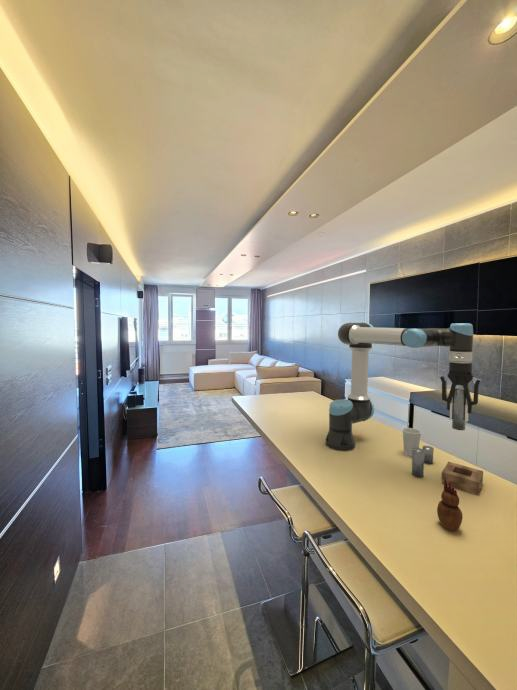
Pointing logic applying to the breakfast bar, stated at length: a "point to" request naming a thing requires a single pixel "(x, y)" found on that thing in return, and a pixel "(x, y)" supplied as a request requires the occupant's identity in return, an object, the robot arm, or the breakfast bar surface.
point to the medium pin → (418, 462)
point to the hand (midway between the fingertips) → (458, 419)
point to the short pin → (428, 454)
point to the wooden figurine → (449, 508)
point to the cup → (410, 440)
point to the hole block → (463, 477)
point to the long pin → (458, 409)
